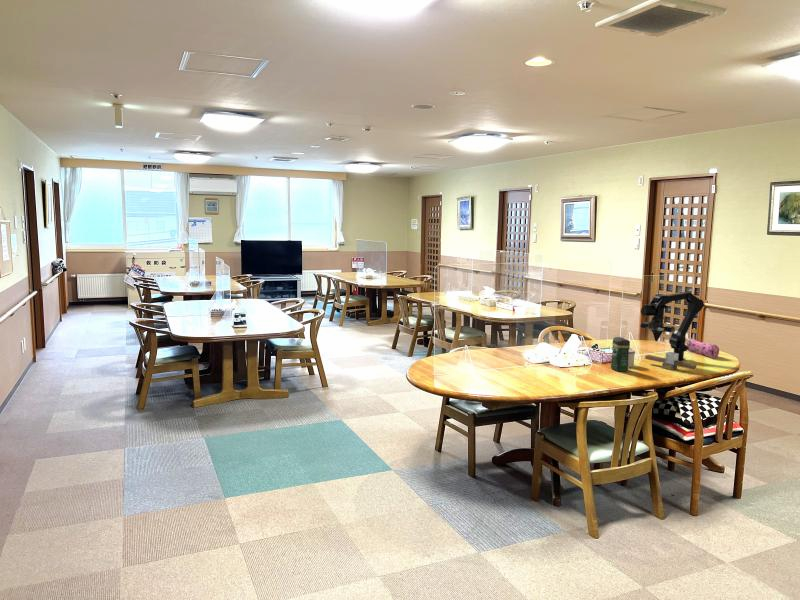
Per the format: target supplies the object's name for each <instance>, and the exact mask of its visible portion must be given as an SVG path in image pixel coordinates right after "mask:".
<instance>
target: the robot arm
mask: <svg viewBox="0 0 800 600" xmlns="http://www.w3.org/2000/svg"><path fill="white" fill-rule="evenodd" d="M682 300H685V301H686V302H687V307H686V308H687V311H686V314H685V315H684V318H683V319H682V322H681V323H680V325H679V327H678V330H677V332H675V331H676V328H675V326H672V325H666V326H665V324H664V320H665V316H664V314H665V309H668V306H667V305H668V304H669V303H672V302H676V301H682ZM704 307H705V303H704V301H703V299H700V298H699V297H697V296H696V295H694V294H693V293H692V292H691V291H682V292H677V293H671V294H661V293H660V294H659V293H657V294H655V295H654V296H653V298H652V299H651V300H650V302H649V303H648V304H643V306H642V307H641V308H640V314H641V316H643V317H651V320H650V321H649V322H648V321H644V322H641V323H640V325H639V327H640V328H641V329H642V328H643V329H646V328H648V330H649V331H650V332H651V333H652V334H653V338H654V341H655V342H658V341H659V338H661V336H662V334H663V333H664V332H666V333H671V334H670V335H671V336H670V337H669V338H668V339H669V346H670V348H671V349H673V352H674V353H679V354H678V361H681V362H684V361H685V360H686V358H685V356H684V354H685V352H687V351H688V347H687V346H686V342H687V341H686V335H687V333H688V331H689V329H690V327H691V325H692V323H693V321H694V319H695V317H696V315H697V314H698V313H699V312H701V311H702V309H703V308H704ZM673 332H675V333H673Z"/></svg>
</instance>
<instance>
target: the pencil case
mask: <svg viewBox="0 0 800 600" xmlns="http://www.w3.org/2000/svg"><path fill="white" fill-rule="evenodd" d="M685 345H686V346H687V347H688V350H687V351H688V352H691V353H696V354H699V355H702V356H707V357H709V358H711V359H715V358H717V357H718V356H719V354H720V348H719V346H718V345H717V344H712V343H706V342H702V341H698V340H696V338H693V337H691V338H688V340H687V341H686V343H685Z"/></svg>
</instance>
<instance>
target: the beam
mask: <svg viewBox="0 0 800 600" xmlns="http://www.w3.org/2000/svg"><path fill="white" fill-rule="evenodd" d="M644 357H645V358H644V360H649V361H653V362H659V363H662V365H661V369H664V370H668V369H669V371H675V370H677V369H678V367H682V368H688V369H691V370H695V369H697V367H698V366H697V364H695V363H689V362H684V361H679V360H678V361H674V365H673V364H668V363H665V358H666V357H661V356H655V355H650V354H646V355H645V356H644ZM674 369H675V370H674Z"/></svg>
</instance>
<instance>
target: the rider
mask: <svg viewBox="0 0 800 600" xmlns="http://www.w3.org/2000/svg"><path fill="white" fill-rule="evenodd" d="M678 354H679V353H674V351H668V352H665V357H664V358H665V363H668V364H673V365H674V361H679V360H678Z"/></svg>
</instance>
